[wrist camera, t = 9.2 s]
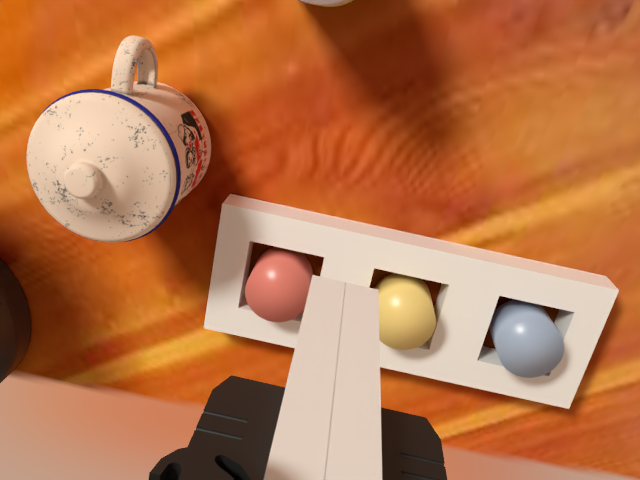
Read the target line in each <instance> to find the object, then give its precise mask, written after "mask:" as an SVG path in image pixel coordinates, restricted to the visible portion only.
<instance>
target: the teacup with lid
mask: <svg viewBox="0 0 640 480" xmlns="http://www.w3.org/2000/svg"><path fill="white" fill-rule="evenodd" d="M137 61H138V79H137V82H134V74H135V69H136V64H137ZM157 77H158V61H157V55H156V51H155V49H154V47H153V45H152V43H151V42H150V41H149V40H147V39H146V38H143V37H139V36H128V37H127V38H125V39H124V40H123V41H122V42H121V44H120V46H119V48H118V50H117V53H116V56H115V59H114V64H113V71H112V81H111V88H107V89H103V90H99V89H87V90H80V91H76V92H72V93H70V94H67V95H65V96H63V97H61V98H59V99H57V100H56V101H54V102H53V103H52V104H51V105H49V106H48V107H47V108H46V109H45V110H44V111H43V113H42V114H41V115H40V117H39V118H38V120H37V121H36V123H35V125H34V127H33V129H32V131H31V134H30V137H29V141H28V146H27V168H28V173H29V178H30V181H31V184H32V187H33V189H34V191H35V193H36V195H37V197H38V199H39V200H40V202H41V204H42V205H43V206H44V208H45V209H46V210H47V211H48V212H49V214H50V215H51V216H52V217H53V218H54V219H55V220H57V221H58V222H59V223H60V224H61V225H63V226H64V227H66V228H67V229H69V230H70V231H72V232H74V233H76V234H78V235H80V236H83V237H85V238H88V239H92V240H95V241H101V242H126V241H131V240H135V239H138V238H141V237H143V236H145V235H147V234H149V233H151V232H152V231H154V230H155V229H156V228H158V227H159V226H160V225H161V224H162V223H163V222H164V221H165V220H166V219H167V217H168V216H169V214H170V213H171V211H172V210H173V208H174V206H175V205H177V204H178V203H179V202H180V201H181V200H182V199H183V198H184V197H185V196H186V195H187V194H188V193H190V192H191V191H192V190H193V189H194V188H195V187H196V186H197V185H198V184H199V182H200V181H201V180H202V178H203V177H204V175H205V173H206V171H207V168H208V165H209V162H210V157H211V138H210V133H209V130H208V126H207V124H206V121H205V119H204V117H203V116H202V114H201V112H200V111H199V109H198V108H197V107H196V105H195V104H194V103H193V102H192V101H191V100H190V99H189V98H188V97H187V96H185V95H184V94H183V93H181V92H180V91H178V90H177V89H175V88H173V87H171V86H168V85H166V84H163V83H159V82H157Z"/></svg>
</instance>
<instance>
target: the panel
mask: <svg viewBox="0 0 640 480" xmlns="http://www.w3.org/2000/svg"><path fill="white" fill-rule="evenodd" d="M254 242H257V243H261V244H266V245H271V246H275V247H280V248H284V249H289V250H293V251H298V252H302V253H307V254H312V255H316V256H321V257H324V260H323V265H322V269H321V274H320V277H325V278H329V279H334V280H338V281H342V282H347V283H351V284H356V285H360V286H364V287H370V283H371V279H372V275H373V271H374V268H375V269H380V270H384V271H389V272H393V273H398V274H403V275H407V276H412V277H416V278H421V279H425V280H430V281H434V282H439V283H441V287H440V290H439V293H438V297H437V300H436V303H435V306H434V313H435V317H436V326H435V330H434V332H433V334H432V336H431V337H430V338H429V340H428V341H427V342H425V343H424V344H423V345H421V346H419V347H417V348H414V349H409V350H398V349H393V348H391V347H388V346H386V345H385V344H383V343H382V342H381V341H380V340H379V342H380V367H382V368H386V369H391V370H395V371H400V372H404V373H409V374H413V375H418V376H422V377H427V378H431V379H436V380H440V381H445V382H450V383H454V384H459V385H463V386H468V387H472V388H477V389H481V390H486V391H490V392H495V393H499V394H504V395H508V396H513V397H517V398H522V399H526V400H531V401H535V402H540V403H545V404H549V405H554V406H558V407H563V408H567V409H569V408H570V405H571V403H572V401H573V398H574V396H575V394H576V391H577V389H578V386H579V384H580V382H581V379H582V377H583V375H584V372H585V370H586V368H587V365H588V363H589V360H590V358H591V356H592V353H593V351H594V349H595V346H596V344H597V342H598V339H599V337H600V334H601V332H602V330H603V327H604V325H605V323H606V320H607V318H608V316H609V313H610V311H611V308H612V306H613V304H614V301H615V299H616V297H617V294H618V292H619V290H618V289H617V288H616V286H615V285H614V284H613V283H612V282H611V281H610V280H609V279H608V278H607V277H606V276H604V275H599V274H595V273H590V272H585V271H581V270H576V269H572V268H567V267H563V266H558V265H554V264H549V263H544V262H540V261H535V260H531V259H526V258H522V257H517V256H512V255H508V254H503V253H499V252H494V251H490V250H485V249H481V248H476V247H471V246H467V245H462V244H458V243H453V242H449V241H444V240H440V239H435V238H430V237H426V236H421V235H417V234H412V233H408V232H403V231H398V230H394V229H389V228H385V227H380V226H376V225H371V224H367V223H362V222H357V221H353V220H348V219H344V218H339V217H335V216H330V215H325V214H321V213H316V212H312V211H307V210H303V209H298V208H294V207H289V206H284V205H280V204H275V203H271V202H266V201H262V200H257V199H253V198H248V197H243V196H239V195H234V194H230V195H229V196H228V197H227V198H226V200H225V201H224V202H223V203H222V209H221V215H220V222H219V229H218V235H217V242H216V249H215V255H214V262H213V269H212V275H211V282H210V289H209V295H208V302H207V309H206V315H205V322H204V328H205V329H210V330H214V331H219V332H223V333H228V334H232V335H237V336H241V337H246V338H251V339H255V340H260V341H264V342H269V343H273V344H278V345H282V346H287V347H291V348H295V346H296V342H297V338H298V334H299V330H300V325H301V321H302V317H303V313H304V310H303V311H302V312H301V314H299V315H298V316H297V317H296V318H294V319H292V320H289V321H286V322H271V321H267V320H265V319H263V318H261V317H259V316H258V315H256V314H255V313H254V312H253V311H252V309H251V308H250V307H249V305H248V303H247V300H246V296H245V287H246V283H247V278H248V273H249V267H250V261H251V255H252V250H253V244H254ZM499 296H503V297H507V298H512V299H516V300H521V301H525V302H530V303H534V304H539V305H544V306H548V307H553V308H557V309H559V311H558V314H557V316H556V319H555V322H554V325H555V327H556V328H557V330H558V332H559V333H560V335H561V337H562V339H563V342H564V354H563V357H562V359H561V361H560V363H559V364H558V365H557V366H556V367H555V368H554V369H553V370H552V371H550V372H549V373H547V374H545V375H542V376H539V377H533V378H525V377H520V376H517V375H514V374H512V373H511V372H509V371H508V370H507V369H506V368H505V367H504V366H503V365H502V363H501V361H500V358H499V356H498V353H497V351H496V349H494V348H490V347H485V346H482V345H483V342H484V339H485V336H486V333H487V331H488V328H489V325H490V322H491V319H492V316H493V313H494V310H495V307H496V304H497V301H498V299H499ZM304 309H305V308H304Z"/></svg>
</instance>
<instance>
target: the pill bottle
mask: <svg viewBox="0 0 640 480" xmlns="http://www.w3.org/2000/svg"><path fill="white" fill-rule="evenodd" d="M300 1H302V2H305V3H309V4H313V5H317V6H322V7H337V6H342V5H345V4H348V3H350V2H352V1H354V0H300Z"/></svg>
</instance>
